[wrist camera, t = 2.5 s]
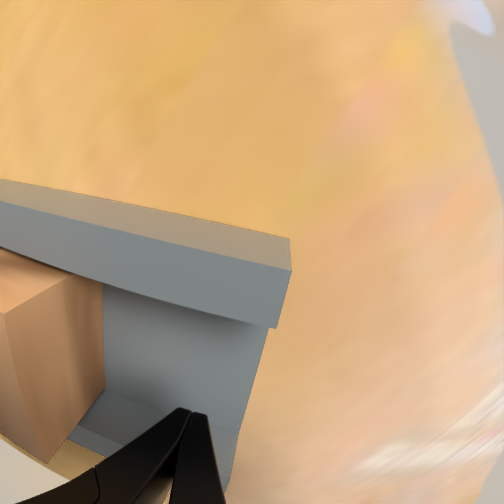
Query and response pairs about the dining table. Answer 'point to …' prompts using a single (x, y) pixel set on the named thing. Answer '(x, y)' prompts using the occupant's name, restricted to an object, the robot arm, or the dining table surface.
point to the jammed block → (47, 351)
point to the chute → (159, 307)
